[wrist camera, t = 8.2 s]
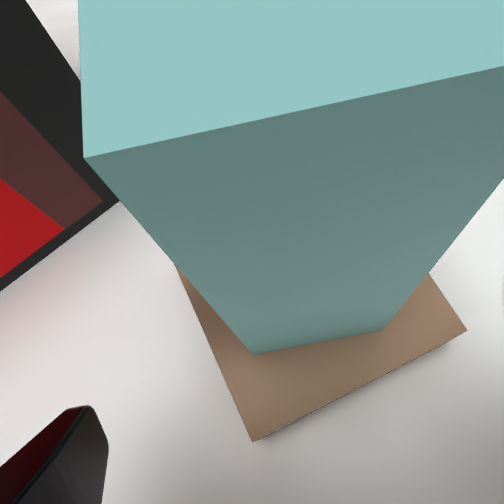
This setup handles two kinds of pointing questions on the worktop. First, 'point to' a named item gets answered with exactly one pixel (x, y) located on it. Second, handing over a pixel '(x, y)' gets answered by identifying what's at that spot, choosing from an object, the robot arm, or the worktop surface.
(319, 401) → the walnut slab
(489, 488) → the worktop surface
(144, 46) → the teal block
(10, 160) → the cleaning product box
